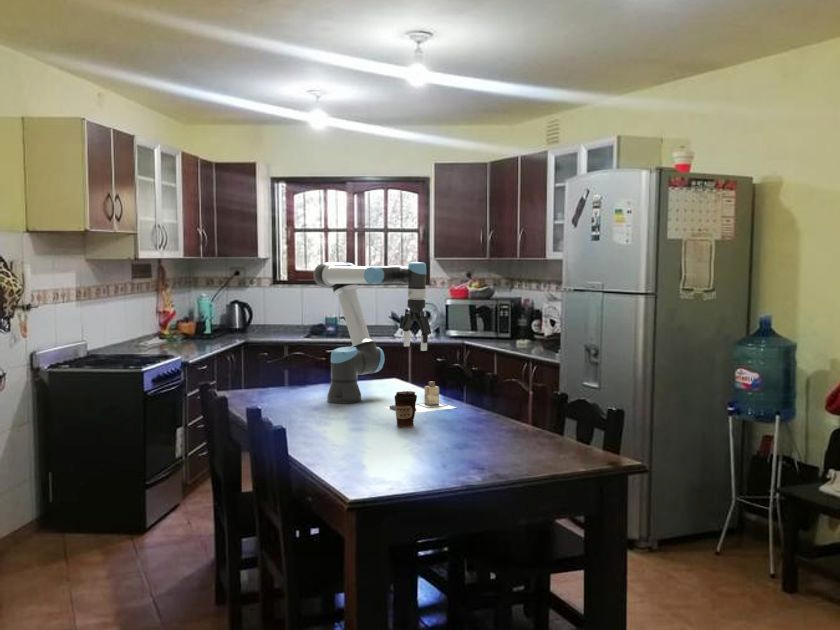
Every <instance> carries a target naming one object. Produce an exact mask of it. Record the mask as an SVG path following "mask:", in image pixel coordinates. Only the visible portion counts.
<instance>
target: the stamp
mask: <svg viewBox="0 0 840 630" xmlns="http://www.w3.org/2000/svg"><path fill="white" fill-rule="evenodd" d="M435 382H436V381H428V385H425V386H424V403H425V405H427V406H438V405H439V403H440V386H437V385H436V383H435Z"/></svg>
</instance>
